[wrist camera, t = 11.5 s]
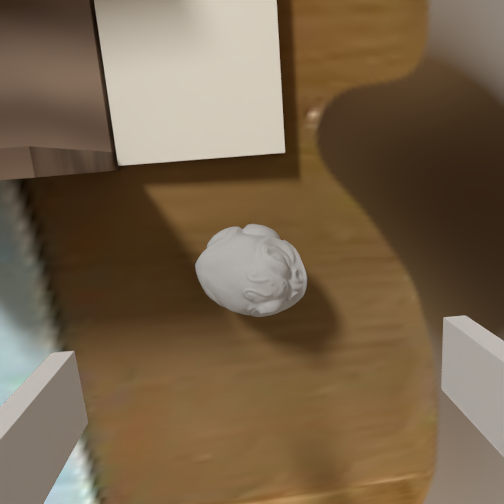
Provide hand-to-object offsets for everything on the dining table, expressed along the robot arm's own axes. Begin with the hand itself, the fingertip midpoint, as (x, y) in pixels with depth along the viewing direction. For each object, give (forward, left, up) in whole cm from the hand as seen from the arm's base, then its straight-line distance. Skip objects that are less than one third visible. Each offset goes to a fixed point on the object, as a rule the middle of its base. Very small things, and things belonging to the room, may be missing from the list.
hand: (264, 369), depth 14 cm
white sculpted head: (0, 0, -17) cm, 17 cm away
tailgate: (+17, +8, -15) cm, 24 cm away
